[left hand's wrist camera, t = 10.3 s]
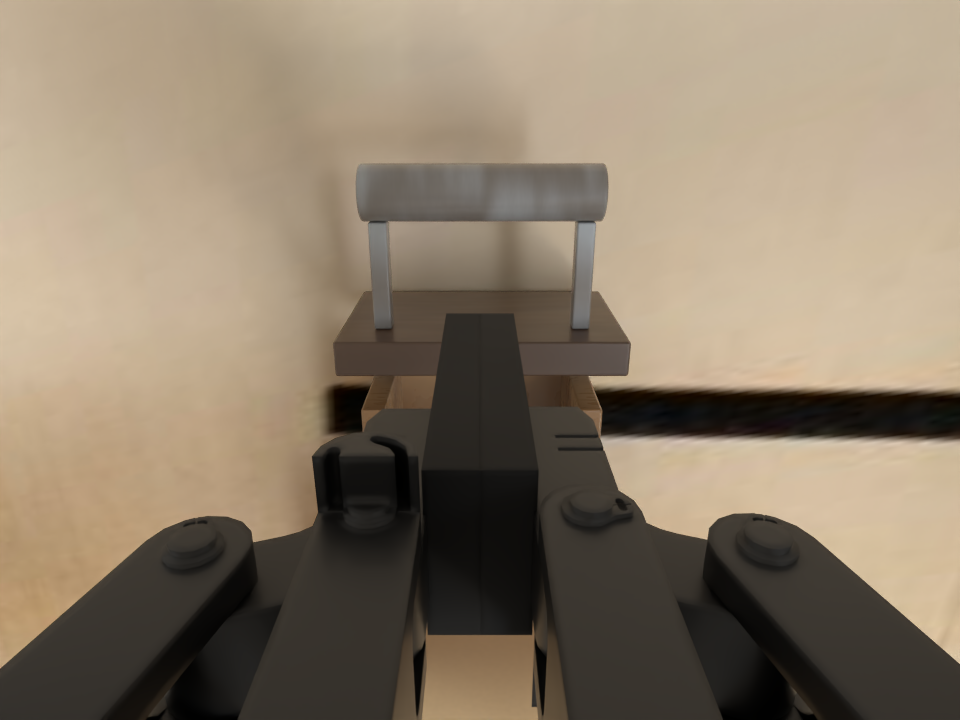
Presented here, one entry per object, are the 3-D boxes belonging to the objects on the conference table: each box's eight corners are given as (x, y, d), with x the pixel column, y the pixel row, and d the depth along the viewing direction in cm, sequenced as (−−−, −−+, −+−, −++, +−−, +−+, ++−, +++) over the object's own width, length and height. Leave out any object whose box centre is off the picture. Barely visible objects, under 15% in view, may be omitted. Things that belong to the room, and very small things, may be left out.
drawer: (354, 153, 24) (316, 168, 19) (609, 153, 24) (647, 168, 19) (388, 649, 34) (370, 760, 28) (573, 649, 34) (593, 760, 28)
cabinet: (368, 489, 31) (333, 610, 24) (593, 489, 31) (629, 610, 24) (390, 780, 39) (369, 940, 31) (571, 780, 39) (593, 940, 31)
